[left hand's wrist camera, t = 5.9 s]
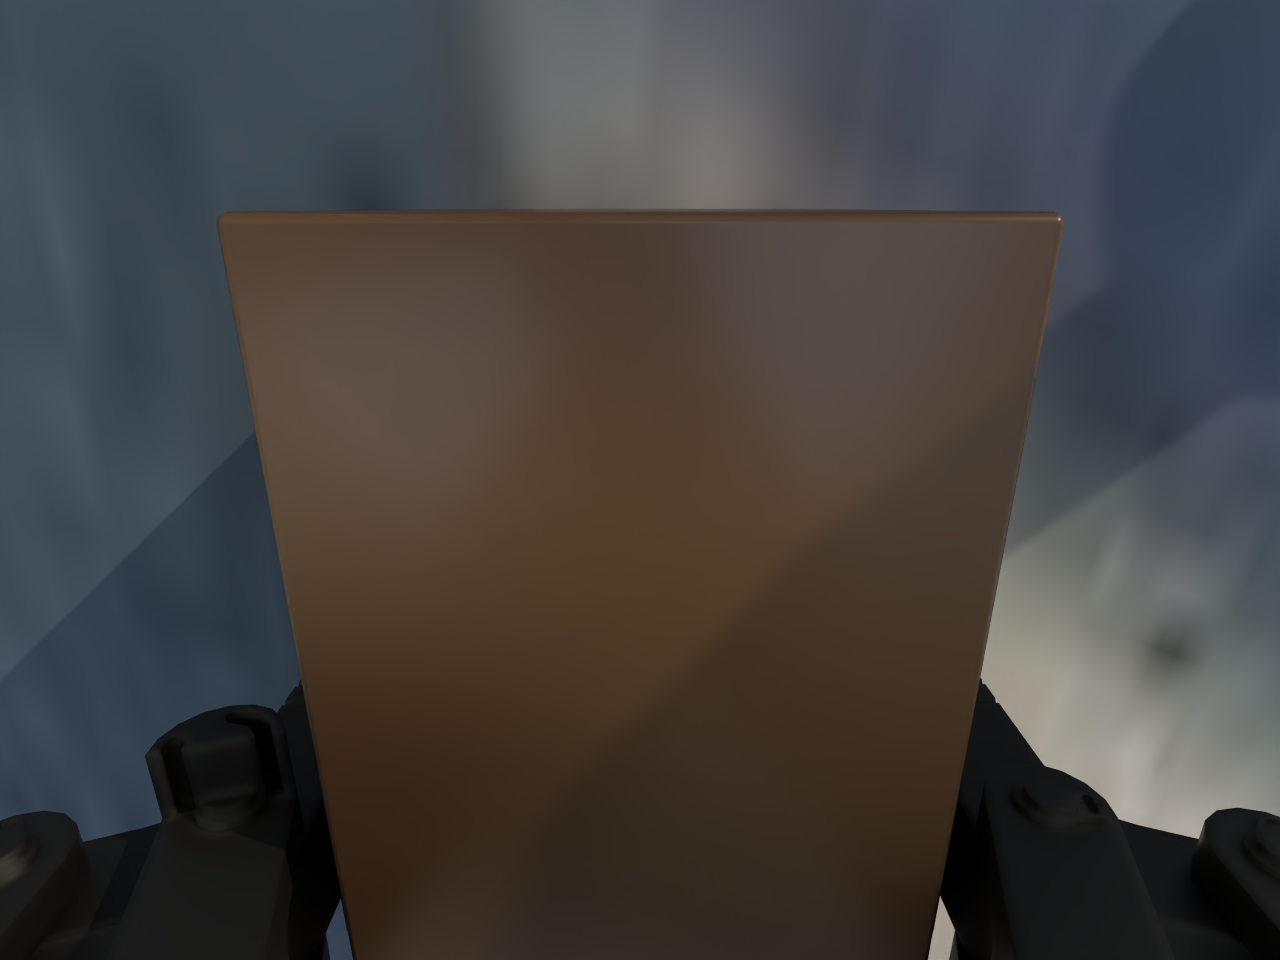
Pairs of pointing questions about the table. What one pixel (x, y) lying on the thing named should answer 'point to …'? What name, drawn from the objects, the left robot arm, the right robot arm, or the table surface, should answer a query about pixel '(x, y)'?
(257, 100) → the table surface
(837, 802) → the post
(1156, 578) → the table surface
